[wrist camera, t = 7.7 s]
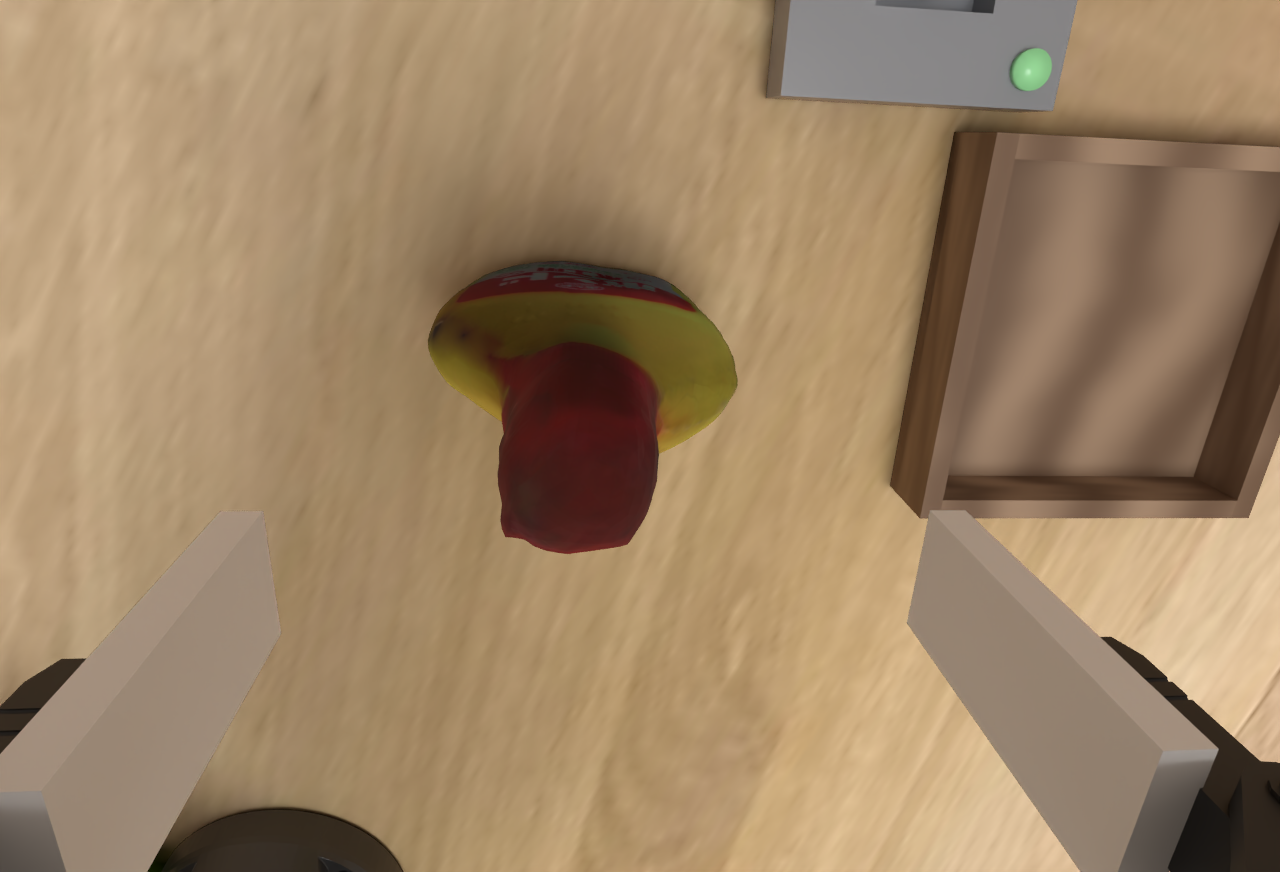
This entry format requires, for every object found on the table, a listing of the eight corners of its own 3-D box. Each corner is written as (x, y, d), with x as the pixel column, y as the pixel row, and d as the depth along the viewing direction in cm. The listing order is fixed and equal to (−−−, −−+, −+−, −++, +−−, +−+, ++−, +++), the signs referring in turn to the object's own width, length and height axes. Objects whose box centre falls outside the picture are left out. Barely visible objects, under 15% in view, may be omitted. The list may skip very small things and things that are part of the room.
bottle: (445, 348, 37) (325, 565, 18) (469, 216, 35) (363, 312, 16) (681, 403, 39) (785, 646, 21) (718, 281, 37) (871, 431, 19)
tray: (890, 485, 42) (920, 518, 38) (954, 132, 35) (997, 132, 32) (1193, 486, 44) (1248, 517, 40) (1308, 150, 37) (1385, 152, 34)
